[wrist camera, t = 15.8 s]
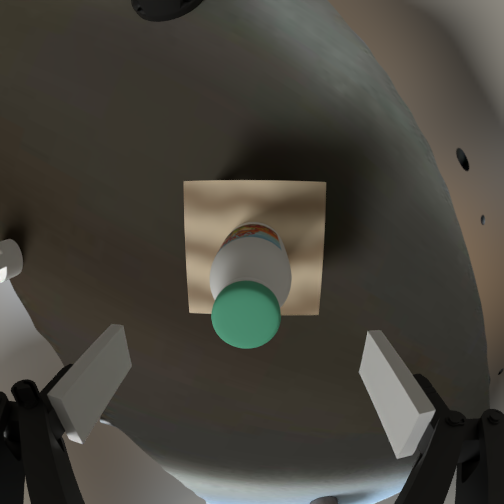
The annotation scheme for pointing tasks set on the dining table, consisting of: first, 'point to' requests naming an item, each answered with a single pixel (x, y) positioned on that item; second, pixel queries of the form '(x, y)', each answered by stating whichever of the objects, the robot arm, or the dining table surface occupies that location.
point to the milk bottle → (249, 285)
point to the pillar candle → (325, 500)
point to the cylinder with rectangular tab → (10, 259)
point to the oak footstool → (264, 211)
